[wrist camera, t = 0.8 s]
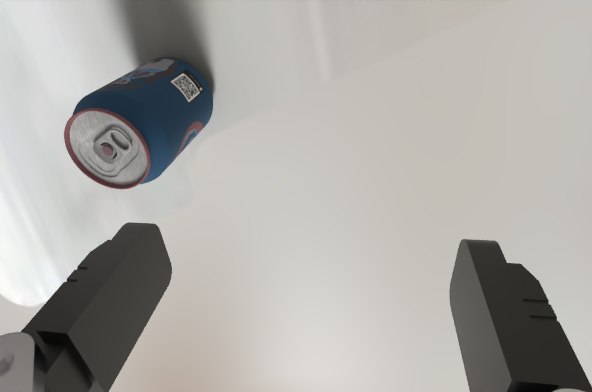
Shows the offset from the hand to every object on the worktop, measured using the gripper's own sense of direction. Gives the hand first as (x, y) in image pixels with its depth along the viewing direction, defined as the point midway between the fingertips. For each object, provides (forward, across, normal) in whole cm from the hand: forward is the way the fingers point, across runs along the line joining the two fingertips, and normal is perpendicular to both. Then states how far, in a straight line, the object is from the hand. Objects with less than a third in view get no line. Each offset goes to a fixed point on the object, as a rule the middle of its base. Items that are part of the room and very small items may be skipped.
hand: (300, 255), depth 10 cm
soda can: (+24, +15, +4) cm, 29 cm away
